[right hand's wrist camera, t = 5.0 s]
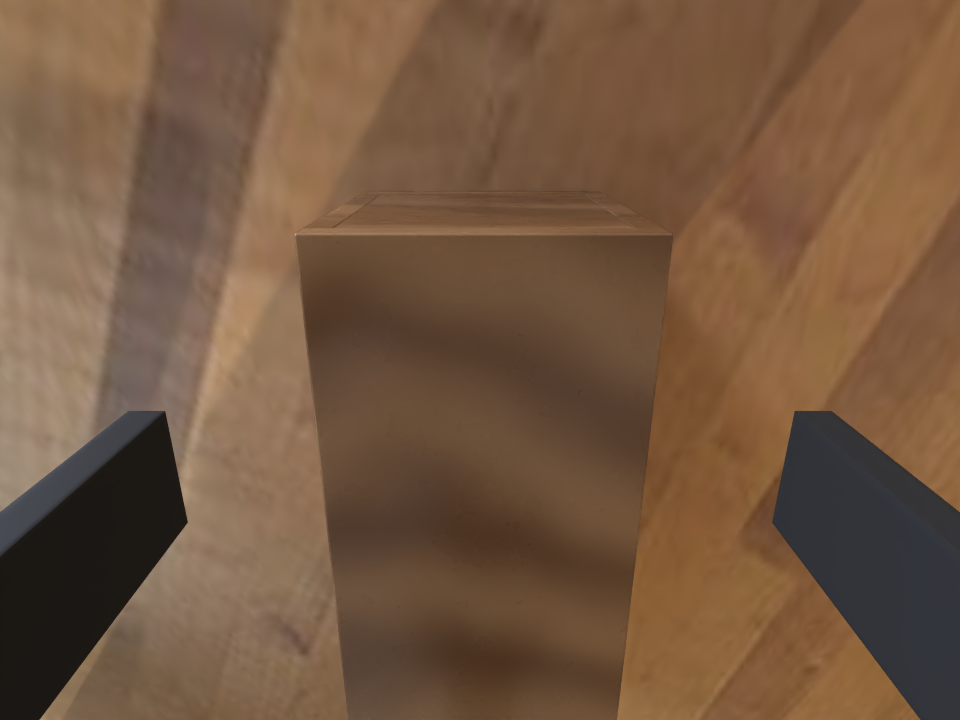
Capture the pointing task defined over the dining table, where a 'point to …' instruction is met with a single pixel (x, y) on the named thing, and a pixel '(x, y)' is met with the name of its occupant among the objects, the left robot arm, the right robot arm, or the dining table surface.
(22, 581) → the right robot arm
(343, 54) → the dining table surface
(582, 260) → the cabinet
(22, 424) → the dining table surface
